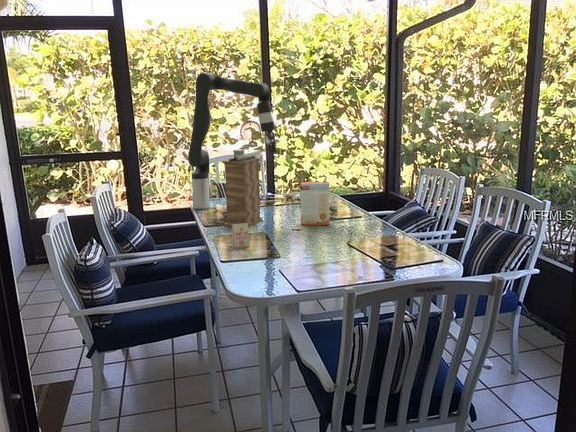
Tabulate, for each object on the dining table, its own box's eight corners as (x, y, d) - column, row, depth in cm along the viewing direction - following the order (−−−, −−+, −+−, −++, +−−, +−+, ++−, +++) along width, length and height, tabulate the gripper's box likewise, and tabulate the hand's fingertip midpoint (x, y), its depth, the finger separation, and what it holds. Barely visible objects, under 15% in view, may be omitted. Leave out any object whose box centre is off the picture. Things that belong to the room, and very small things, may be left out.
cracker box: (329, 222, 250) (329, 181, 245) (329, 225, 244) (329, 183, 239) (301, 222, 252) (301, 181, 247) (300, 225, 246) (300, 183, 241)
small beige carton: (231, 246, 212) (231, 223, 210) (247, 244, 214) (246, 222, 212) (233, 248, 209) (232, 225, 207) (249, 247, 211) (248, 224, 208)
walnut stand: (246, 228, 240) (244, 159, 233) (224, 226, 245) (222, 158, 237) (262, 220, 256) (261, 155, 249) (241, 218, 261) (240, 155, 253)
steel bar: (240, 161, 238) (240, 150, 237) (234, 160, 239) (233, 150, 238) (260, 156, 258) (260, 146, 257) (254, 155, 259) (254, 146, 258)
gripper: (257, 123, 268) (263, 153, 271) (262, 122, 254) (268, 154, 257) (271, 121, 269) (276, 150, 272) (276, 119, 255) (282, 151, 258)
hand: (272, 152), depth 264 cm, fingers open, 8 cm apart
